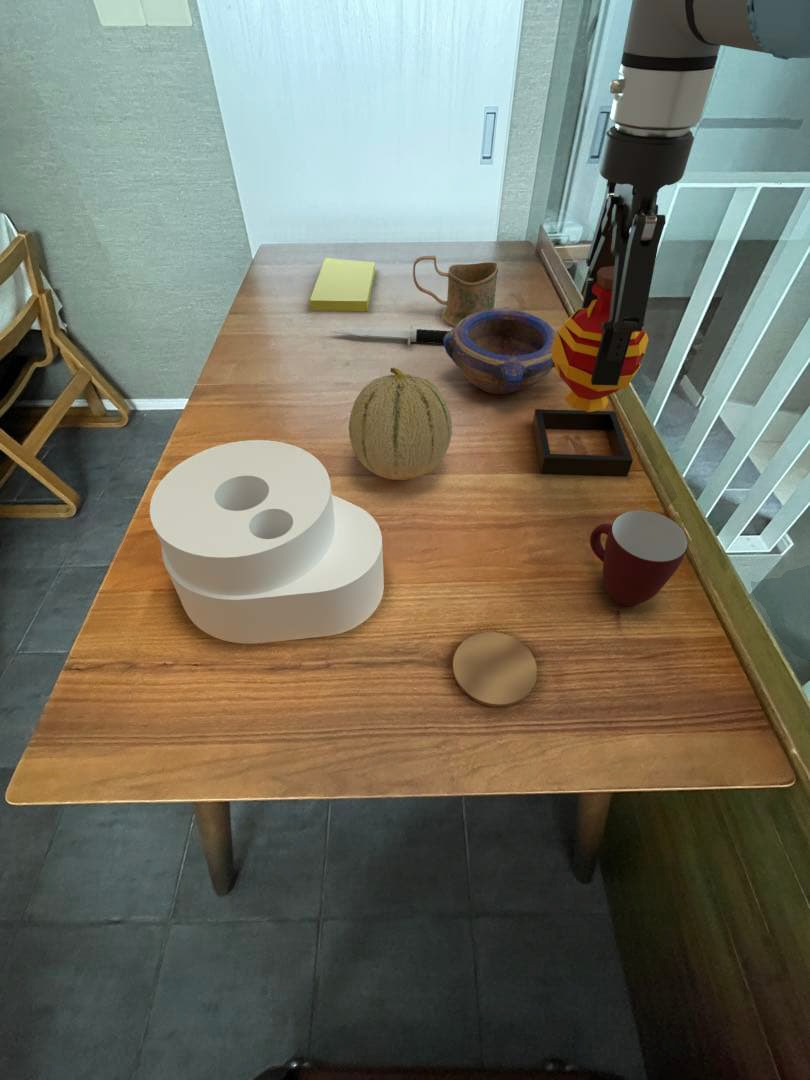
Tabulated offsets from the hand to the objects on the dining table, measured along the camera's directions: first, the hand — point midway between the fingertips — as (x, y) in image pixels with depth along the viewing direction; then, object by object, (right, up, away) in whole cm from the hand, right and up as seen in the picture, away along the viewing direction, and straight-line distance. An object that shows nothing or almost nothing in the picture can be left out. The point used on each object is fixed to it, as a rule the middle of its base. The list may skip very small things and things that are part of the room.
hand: (595, 358), depth 67 cm
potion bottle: (0, -4, +4) cm, 6 cm away
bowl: (-5, +7, +37) cm, 38 cm away
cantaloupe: (-23, -10, +20) cm, 32 cm away
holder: (+5, -7, +23) cm, 24 cm away
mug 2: (+4, -27, +4) cm, 27 cm away
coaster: (-12, -35, -4) cm, 37 cm away
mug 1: (-12, +26, +55) cm, 62 cm away
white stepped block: (-37, -26, +5) cm, 45 cm away
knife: (-24, +18, +48) cm, 57 cm away
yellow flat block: (-36, +36, +66) cm, 83 cm away
